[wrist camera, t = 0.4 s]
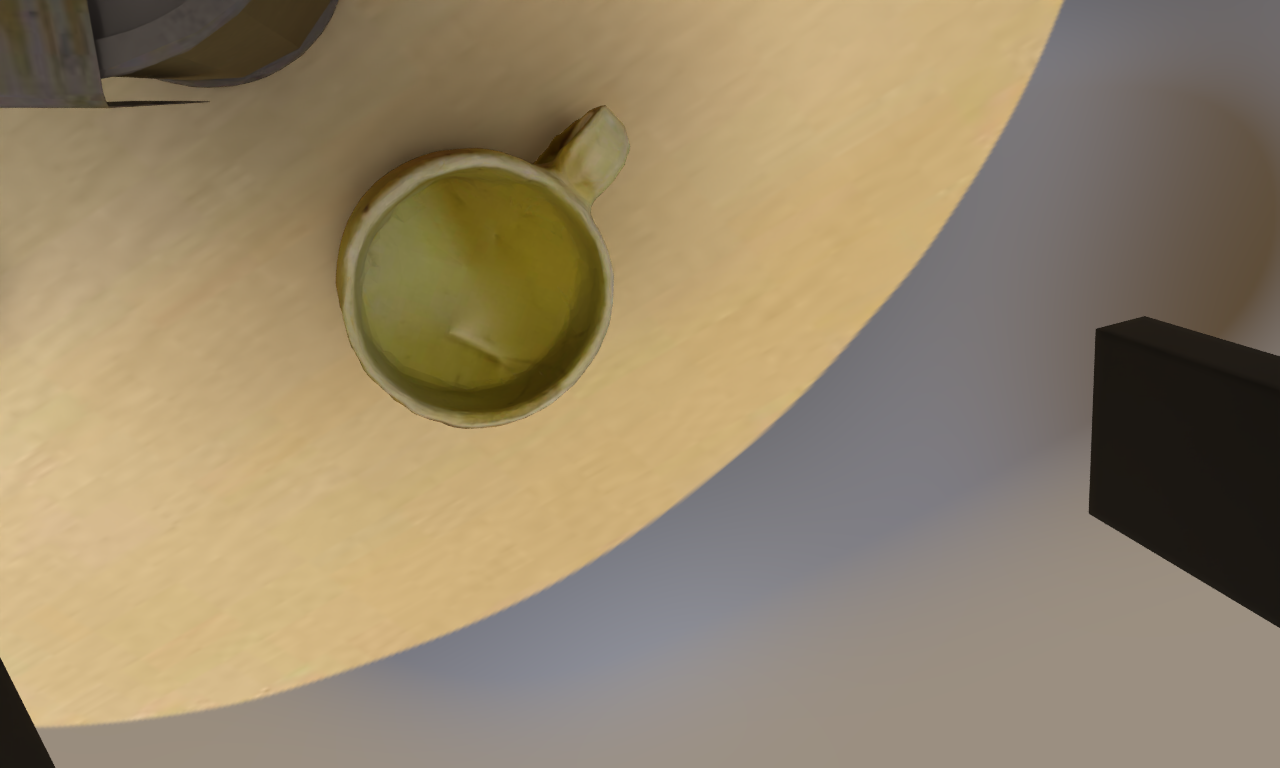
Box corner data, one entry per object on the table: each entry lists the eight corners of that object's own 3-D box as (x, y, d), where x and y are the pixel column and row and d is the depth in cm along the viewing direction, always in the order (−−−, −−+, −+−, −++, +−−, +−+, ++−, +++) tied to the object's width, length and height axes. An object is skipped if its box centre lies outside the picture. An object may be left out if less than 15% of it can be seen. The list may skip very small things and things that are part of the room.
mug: (453, 473, 37) (462, 485, 27) (289, 284, 36) (238, 225, 26) (666, 295, 40) (744, 247, 30) (519, 113, 39) (551, 3, 29)
